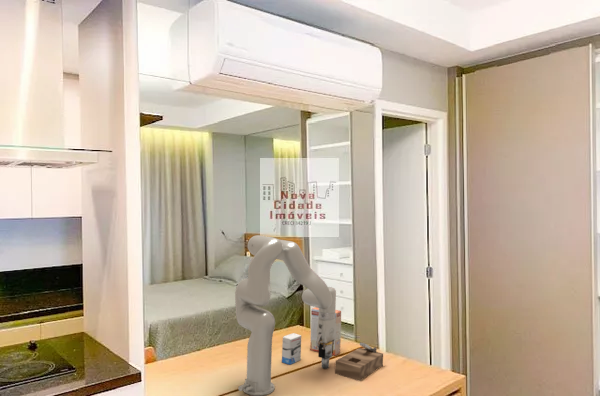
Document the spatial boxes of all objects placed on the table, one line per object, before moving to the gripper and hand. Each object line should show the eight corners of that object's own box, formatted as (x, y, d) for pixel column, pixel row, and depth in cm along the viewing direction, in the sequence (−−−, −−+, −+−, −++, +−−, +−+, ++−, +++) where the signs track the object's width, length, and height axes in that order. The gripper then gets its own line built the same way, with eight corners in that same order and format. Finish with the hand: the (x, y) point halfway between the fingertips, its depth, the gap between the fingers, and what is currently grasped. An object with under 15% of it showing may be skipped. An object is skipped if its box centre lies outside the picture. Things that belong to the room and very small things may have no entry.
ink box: (289, 365, 206) (290, 339, 206) (281, 362, 209) (282, 336, 209) (301, 360, 213) (301, 334, 212) (292, 357, 216) (293, 332, 215)
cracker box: (340, 352, 224) (342, 310, 223) (334, 356, 218) (336, 312, 218) (315, 347, 231) (317, 305, 231) (309, 350, 226) (311, 308, 226)
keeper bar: (365, 346, 204) (366, 343, 204) (358, 344, 206) (359, 342, 206) (373, 352, 210) (374, 349, 211) (367, 350, 212) (367, 347, 213)
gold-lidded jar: (327, 370, 201) (327, 344, 200) (316, 367, 204) (317, 341, 204) (333, 367, 205) (334, 341, 205) (323, 364, 208) (324, 338, 208)
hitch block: (359, 380, 191) (360, 363, 191) (335, 373, 198) (335, 356, 198) (382, 365, 209) (383, 349, 209) (359, 359, 216) (360, 343, 216)
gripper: (323, 320, 195) (322, 363, 195) (343, 312, 209) (342, 352, 209) (308, 317, 199) (307, 358, 200) (330, 310, 213) (328, 348, 214)
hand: (325, 355), depth 204 cm, fingers closed on gold-lidded jar, 5 cm apart
